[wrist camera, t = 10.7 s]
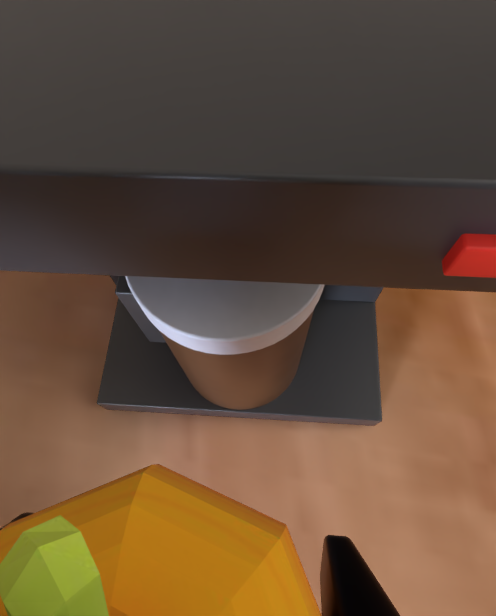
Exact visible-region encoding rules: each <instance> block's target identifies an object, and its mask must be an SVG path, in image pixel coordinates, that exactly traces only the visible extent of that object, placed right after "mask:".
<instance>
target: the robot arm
mask: <svg viewBox="0 0 496 616" xmlns="http://www.w3.org/2000/svg"><path fill="white" fill-rule="evenodd" d="M32 514H34V513H23V514H21V515H19V516H18V517H17V518H15V519H14V520H12V521H11V522H10V523H12V522H15V521H17V520H19V519H22V518H24V517H27V516H29V515H32ZM10 523H8V524H10ZM8 524H7V525H8ZM7 525H5V526H7ZM5 526H4V527H5ZM4 527H3V528H4ZM3 528H1V529H3ZM1 529H0V530H1ZM320 585H321V605H322V616H400V615H399V613H398V612H397V610H396V608H395V607H394V605H393V604H392V602H391V601H390V599H389V598H388V596H387V595H386V593H385V592H384V590H383V588H382V587H381V585H380V584H379V582H378V581H377V579H376V578H375V576H374V575H373V573H372V572H371V570H370V568H369V567H368V565H367V564H366V562H365V561H364V559H363V558H362V556H361V555H360V553H359V552H358V550H357V548H356V547H355V545H354V544H353V542H352V541H351V540H350V539H349V538H348V537H346V536H334V535H328V536H326V537H325V539H324V545H323V553H322V562H321V571H320Z"/></svg>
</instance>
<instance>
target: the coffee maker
mask: <svg viewBox="0 0 496 616" xmlns="http://www.w3.org/2000/svg"><path fill="white" fill-rule="evenodd" d="M0 270H2V271H24V272H47V273H70V274H93V275H110V277H111V278H112V280H113V281H114V282H115V284H116V285H117V286H116V291H115V293H116V295H117V296H118V303H117V308H116V312H115V317H114V322H113V327H112V332H111V337H110V342H109V346H108V351H107V356H106V361H105V366H104V371H103V376H102V380H101V385H100V390H99V395H98V400H97V404H99V405H100V406H102V407H104V408H105V409H108V410H125V411H141V412H158V413H174V414H191V415H207V416H223V417H240V418H256V419H273V420H289V421H306V422H322V423H338V424H355V425H371V426H374V425H376V424H378V423H379V422H381V421H382V410H381V393H380V376H379V360H378V343H377V326H376V310H375V301H376V299H377V298H378V296H379V294H380V293H381V291H382V289H383V287H388V288H410V289H433V290H456V291H479V292H496V0H0Z"/></svg>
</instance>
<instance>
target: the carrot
mask: <svg viewBox="0 0 496 616" xmlns="http://www.w3.org/2000/svg"><path fill="white" fill-rule="evenodd" d="M0 616H321V613H320V611H319V608H318V605H317V603H316V600H315V598H314V595H313V593H312V590H311V588H310V585H309V582H308V580H307V577H306V575H305V572H304V570H303V567H302V564H301V562H300V559H299V557H298V554H297V552H296V549H295V546H294V544H293V541H292V539H291V536H290V534H289V531H288V528H287V526H286V524H284V523H281V522H279V521H277V520H275V519H273V518H271V517H269V516H267V515H265V514H263V513H260V512H258V511H256V510H254V509H252V508H250V507H248V506H246V505H244V504H241V503H239V502H237V501H235V500H233V499H231V498H229V497H227V496H225V495H222V494H220V493H218V492H216V491H214V490H212V489H210V488H208V487H206V486H204V485H201V484H199V483H197V482H195V481H193V480H191V479H189V478H187V477H185V476H182V475H180V474H178V473H176V472H174V471H172V470H170V469H168V468H166V467H163V466H161V465H159V464H156V465H150V466H148V467H146V468H143V469H141V470H138V471H136V472H133V473H131V474H129V475H126V476H124V477H121V478H119V479H116V480H114V481H112V482H109V483H107V484H104V485H102V486H99V487H97V488H95V489H92V490H90V491H87V492H85V493H82V494H80V495H78V496H75V497H73V498H70V499H68V500H65V501H63V502H61V503H58V504H56V505H53V506H51V507H49V508H46V509H44V510H41V511H39V512H36V513H34V514H32V515H29V516H27V517H24V518H22V519H19V520H17V521H15V522H12V523H10V524H8V525H7V526H5V527H4V528H3V529H1V530H0Z"/></svg>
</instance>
